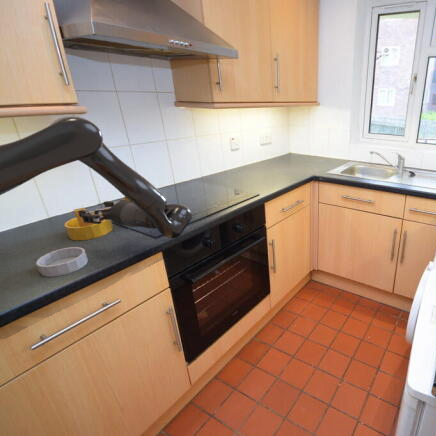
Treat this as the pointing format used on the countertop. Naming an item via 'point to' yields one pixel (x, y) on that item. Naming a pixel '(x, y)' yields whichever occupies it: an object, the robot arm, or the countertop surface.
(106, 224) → the yellow bowl
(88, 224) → the supplement box
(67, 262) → the gray bowl
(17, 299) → the countertop surface
